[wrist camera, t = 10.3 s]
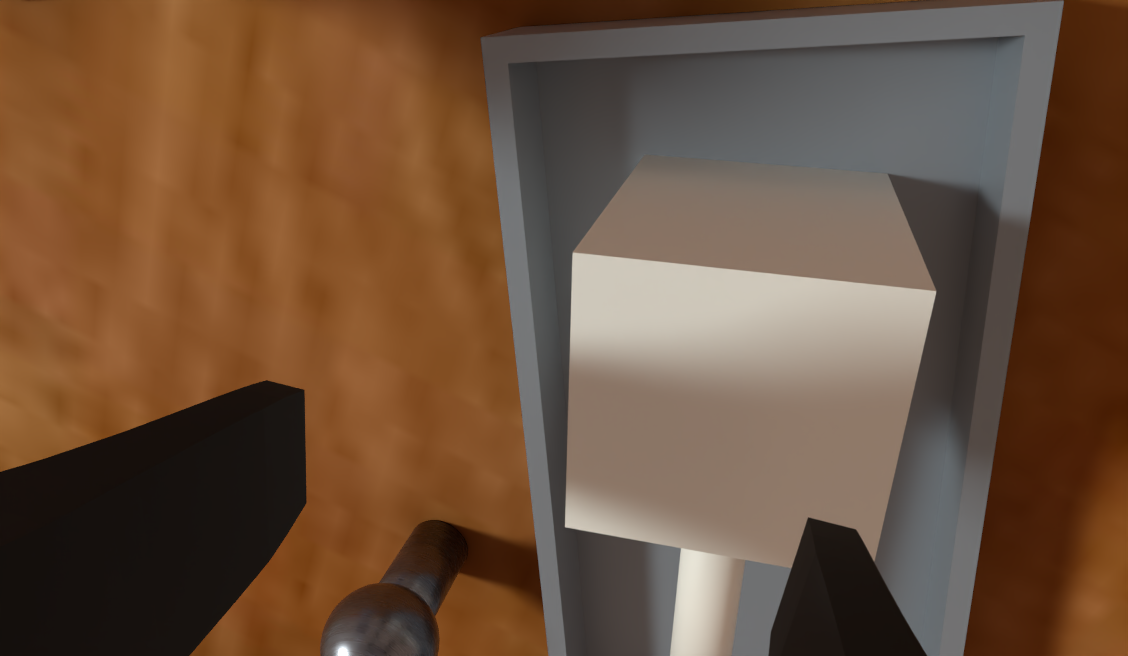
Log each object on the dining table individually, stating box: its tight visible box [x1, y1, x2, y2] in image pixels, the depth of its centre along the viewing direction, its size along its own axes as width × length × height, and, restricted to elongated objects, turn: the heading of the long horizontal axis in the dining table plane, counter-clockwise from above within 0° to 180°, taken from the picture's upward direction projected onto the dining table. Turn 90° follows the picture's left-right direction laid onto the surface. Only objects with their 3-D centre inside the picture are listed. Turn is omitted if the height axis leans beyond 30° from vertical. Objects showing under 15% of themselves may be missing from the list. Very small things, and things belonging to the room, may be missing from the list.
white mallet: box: [565, 155, 936, 656], centre depth 17 cm, size 13×5×7 cm, turn 178°
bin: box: [481, 0, 1064, 656], centre depth 20 cm, size 20×10×2 cm, turn 4°
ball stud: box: [320, 520, 468, 656], centre depth 22 cm, size 3×3×6 cm
